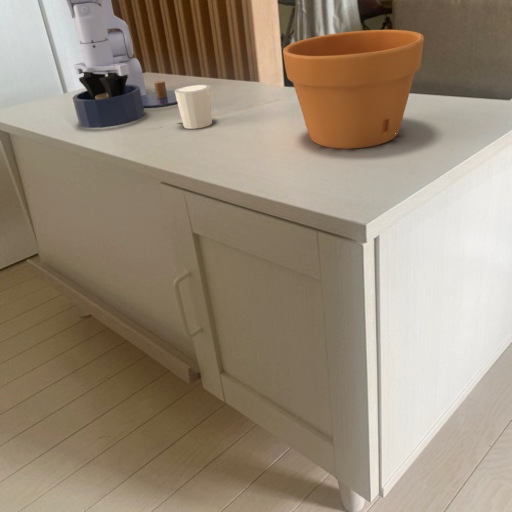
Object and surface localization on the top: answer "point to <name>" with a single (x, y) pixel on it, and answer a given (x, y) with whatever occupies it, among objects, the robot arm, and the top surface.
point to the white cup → (195, 105)
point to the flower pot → (354, 84)
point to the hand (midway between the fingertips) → (110, 109)
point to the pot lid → (159, 97)
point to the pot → (109, 108)
